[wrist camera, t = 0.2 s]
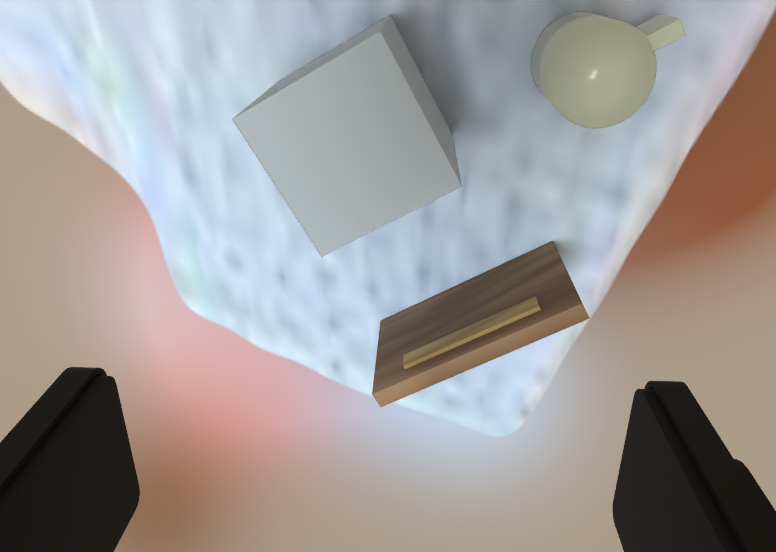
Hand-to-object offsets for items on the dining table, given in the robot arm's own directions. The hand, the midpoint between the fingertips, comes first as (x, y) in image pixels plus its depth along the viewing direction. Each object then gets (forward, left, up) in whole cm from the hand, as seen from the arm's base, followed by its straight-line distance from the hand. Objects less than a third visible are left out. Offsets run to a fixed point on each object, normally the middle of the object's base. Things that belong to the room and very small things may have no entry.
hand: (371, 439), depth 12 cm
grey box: (0, -3, -37) cm, 37 cm away
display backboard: (+16, -3, -37) cm, 40 cm away
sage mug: (+4, +12, -36) cm, 39 cm away
